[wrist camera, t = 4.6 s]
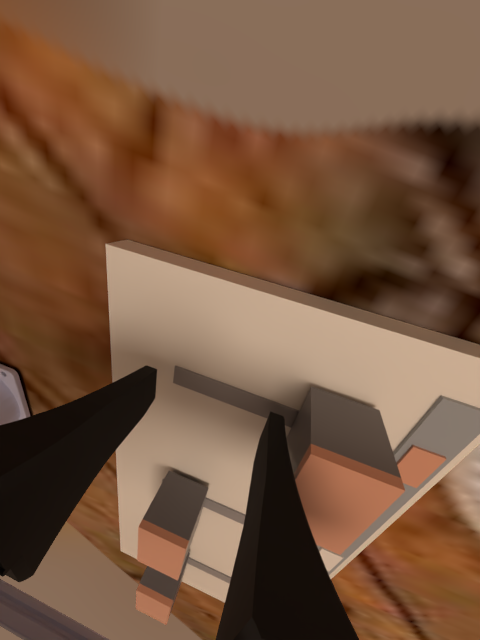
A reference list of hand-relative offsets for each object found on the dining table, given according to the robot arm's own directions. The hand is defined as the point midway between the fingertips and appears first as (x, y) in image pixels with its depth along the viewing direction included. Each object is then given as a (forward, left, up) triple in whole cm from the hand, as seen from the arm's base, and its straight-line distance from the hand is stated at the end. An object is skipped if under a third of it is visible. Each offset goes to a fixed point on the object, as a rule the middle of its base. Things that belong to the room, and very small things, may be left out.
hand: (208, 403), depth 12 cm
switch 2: (+6, 0, -1) cm, 6 cm away
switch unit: (+3, -11, -3) cm, 12 cm away
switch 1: (-1, -22, -1) cm, 22 cm away
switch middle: (0, -11, -1) cm, 11 cm away
